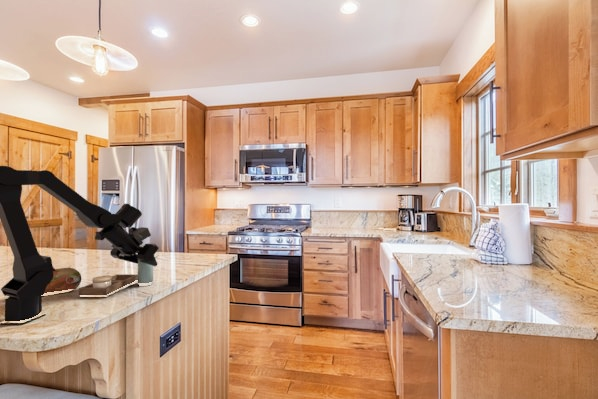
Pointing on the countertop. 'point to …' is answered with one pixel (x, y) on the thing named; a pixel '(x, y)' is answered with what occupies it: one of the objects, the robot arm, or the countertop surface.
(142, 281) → the tall jar
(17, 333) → the countertop surface
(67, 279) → the tin
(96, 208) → the robot arm
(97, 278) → the cream lidded jar
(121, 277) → the caddy
